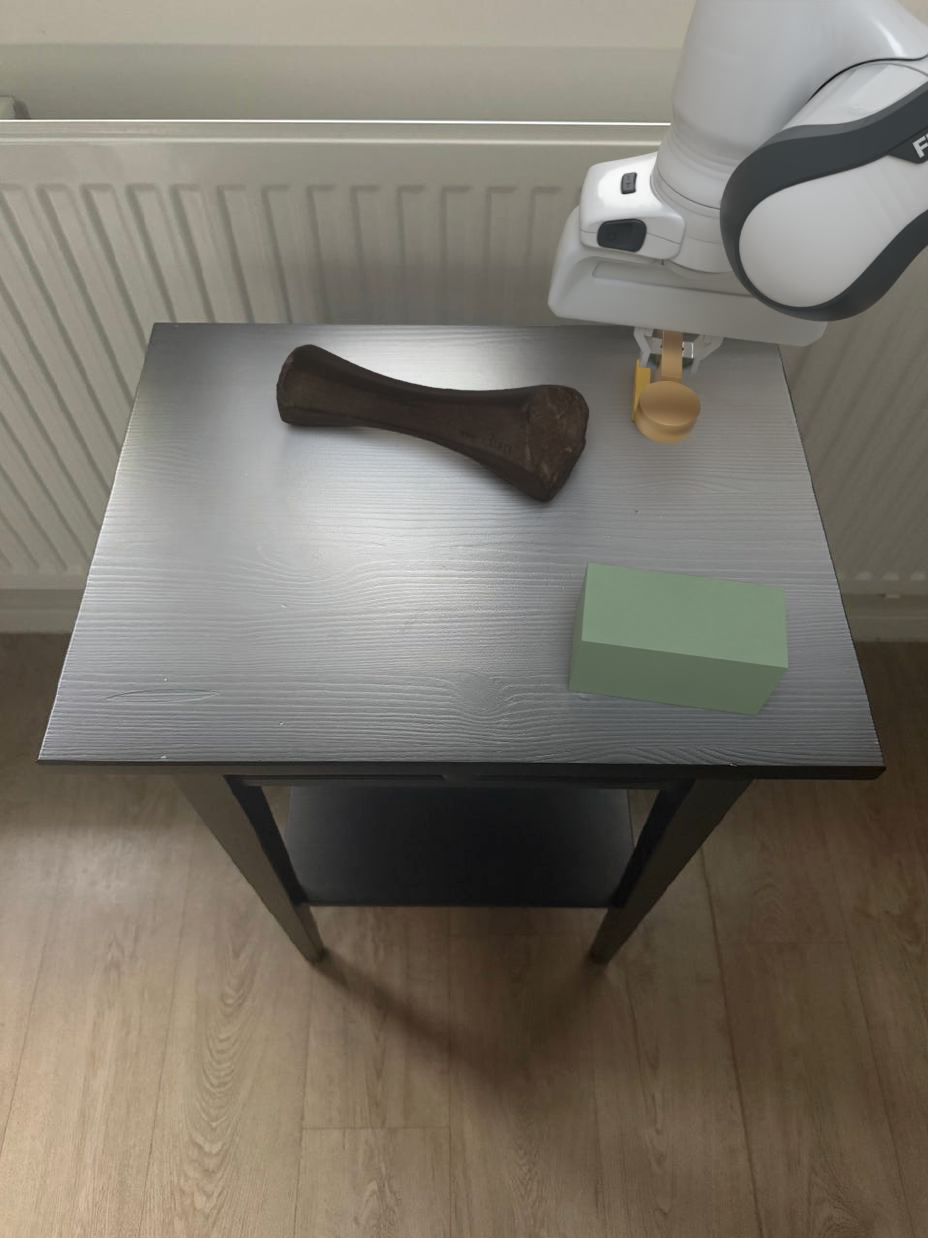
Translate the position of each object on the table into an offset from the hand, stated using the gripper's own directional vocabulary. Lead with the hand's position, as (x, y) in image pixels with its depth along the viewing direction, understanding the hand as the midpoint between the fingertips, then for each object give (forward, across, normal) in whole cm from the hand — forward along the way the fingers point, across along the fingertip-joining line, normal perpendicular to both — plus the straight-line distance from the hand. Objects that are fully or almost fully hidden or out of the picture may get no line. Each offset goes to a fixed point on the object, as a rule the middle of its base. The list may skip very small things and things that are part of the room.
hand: (666, 364), depth 74 cm
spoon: (+1, 0, +1) cm, 1 cm away
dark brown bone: (+15, +19, -1) cm, 24 cm away
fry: (+14, 0, -11) cm, 18 cm away
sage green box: (+14, -3, +19) cm, 24 cm away
